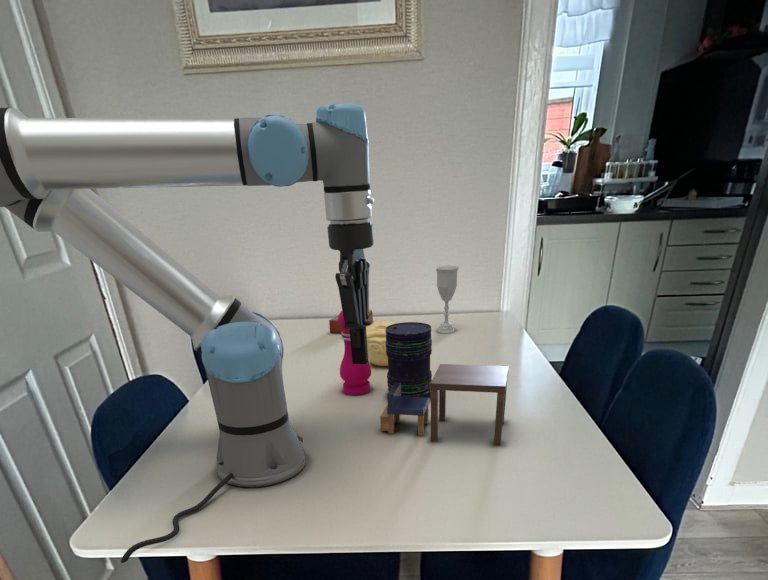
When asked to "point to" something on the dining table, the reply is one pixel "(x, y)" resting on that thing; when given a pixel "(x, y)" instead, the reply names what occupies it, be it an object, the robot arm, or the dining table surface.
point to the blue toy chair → (404, 409)
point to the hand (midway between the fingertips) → (360, 362)
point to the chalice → (446, 291)
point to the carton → (335, 327)
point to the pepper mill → (352, 367)
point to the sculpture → (377, 343)
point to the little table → (468, 380)
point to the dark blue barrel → (409, 358)
